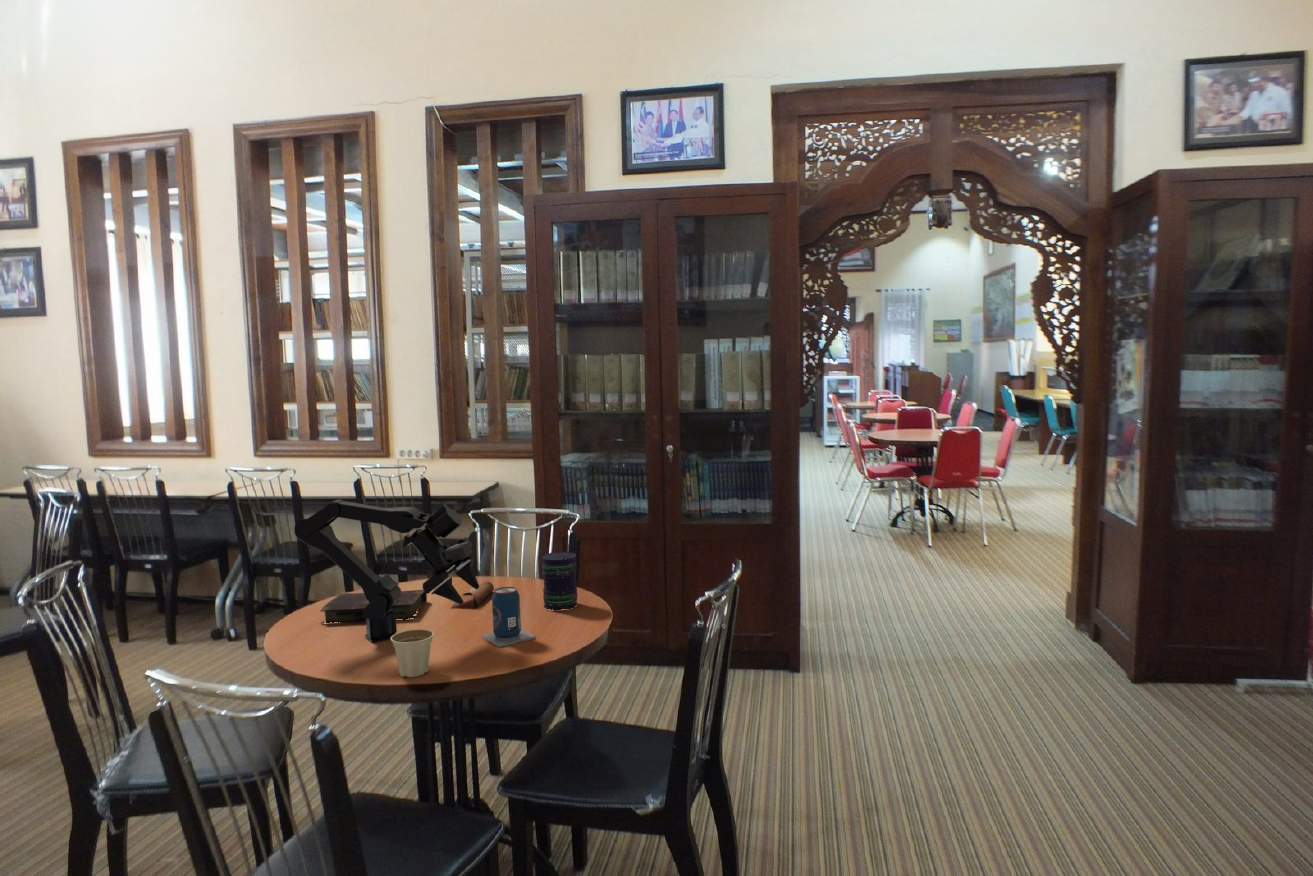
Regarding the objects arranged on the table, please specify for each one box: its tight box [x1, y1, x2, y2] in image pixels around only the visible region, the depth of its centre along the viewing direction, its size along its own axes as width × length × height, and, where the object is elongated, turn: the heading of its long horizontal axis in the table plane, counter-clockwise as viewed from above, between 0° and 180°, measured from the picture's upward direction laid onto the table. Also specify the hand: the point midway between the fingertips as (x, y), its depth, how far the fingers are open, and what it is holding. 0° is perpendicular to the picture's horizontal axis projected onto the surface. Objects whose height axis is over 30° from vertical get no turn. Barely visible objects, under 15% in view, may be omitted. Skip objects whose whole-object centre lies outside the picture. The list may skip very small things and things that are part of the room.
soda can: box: [491, 586, 522, 640], centre depth 195 cm, size 7×7×12 cm
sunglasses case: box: [450, 581, 495, 610], centre depth 231 cm, size 18×7×7 cm, turn 177°
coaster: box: [481, 628, 536, 648], centre depth 195 cm, size 10×10×1 cm
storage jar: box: [541, 551, 578, 610], centre depth 221 cm, size 10×10×15 cm
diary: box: [320, 589, 428, 624], centre depth 220 cm, size 19×25×5 cm
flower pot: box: [390, 628, 435, 678], centre depth 173 cm, size 9×9×9 cm
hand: (470, 595), depth 197 cm, fingers open, 9 cm apart
